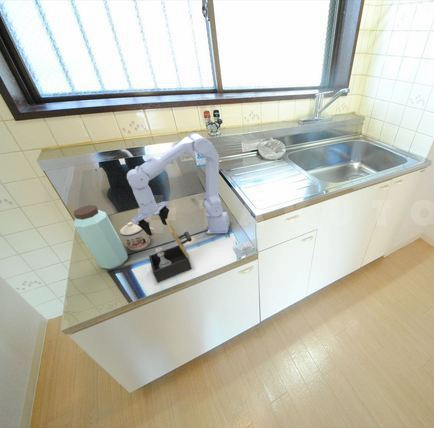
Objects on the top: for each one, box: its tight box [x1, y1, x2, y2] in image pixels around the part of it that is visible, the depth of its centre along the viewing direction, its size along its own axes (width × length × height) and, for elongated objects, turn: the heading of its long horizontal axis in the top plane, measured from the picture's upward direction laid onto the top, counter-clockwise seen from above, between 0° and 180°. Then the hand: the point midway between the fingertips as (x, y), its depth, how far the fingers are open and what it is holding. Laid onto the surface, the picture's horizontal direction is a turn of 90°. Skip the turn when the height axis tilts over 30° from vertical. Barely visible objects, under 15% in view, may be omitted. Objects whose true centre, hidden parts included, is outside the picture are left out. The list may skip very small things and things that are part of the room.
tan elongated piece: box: [165, 219, 193, 259], centre depth 87 cm, size 13×10×5 cm
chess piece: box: [155, 247, 172, 268], centre depth 88 cm, size 4×4×10 cm
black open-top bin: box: [148, 244, 193, 284], centre depth 90 cm, size 12×10×6 cm
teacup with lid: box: [119, 221, 156, 251], centre depth 100 cm, size 12×9×12 cm
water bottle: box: [73, 204, 129, 270], centre depth 87 cm, size 10×10×25 cm
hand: (157, 229), depth 95 cm, fingers open, 7 cm apart
